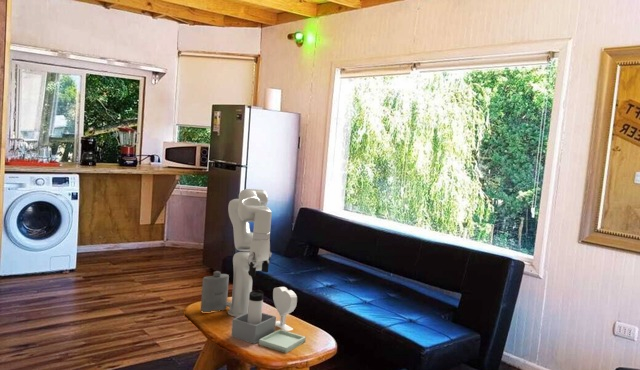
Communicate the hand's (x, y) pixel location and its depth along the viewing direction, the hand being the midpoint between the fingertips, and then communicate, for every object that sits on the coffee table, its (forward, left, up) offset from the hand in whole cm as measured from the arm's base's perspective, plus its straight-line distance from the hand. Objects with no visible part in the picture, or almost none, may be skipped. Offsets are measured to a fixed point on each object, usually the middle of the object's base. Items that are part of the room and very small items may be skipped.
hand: (258, 273), depth 225 cm
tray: (+15, +1, -28) cm, 32 cm away
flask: (-35, +14, -28) cm, 47 cm away
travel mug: (0, 0, -28) cm, 28 cm away
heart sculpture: (+3, +19, -28) cm, 34 cm away
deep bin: (0, 0, -28) cm, 28 cm away
